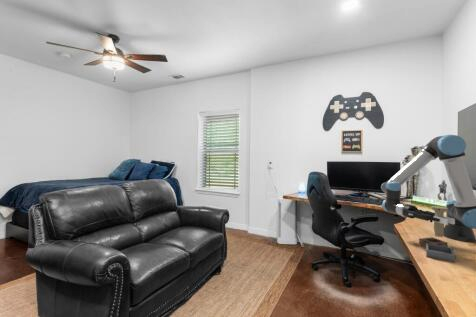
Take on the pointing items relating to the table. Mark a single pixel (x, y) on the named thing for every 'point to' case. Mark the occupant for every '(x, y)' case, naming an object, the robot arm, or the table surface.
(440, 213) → the handle
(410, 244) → the table surface
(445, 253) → the tray
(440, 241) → the collar
